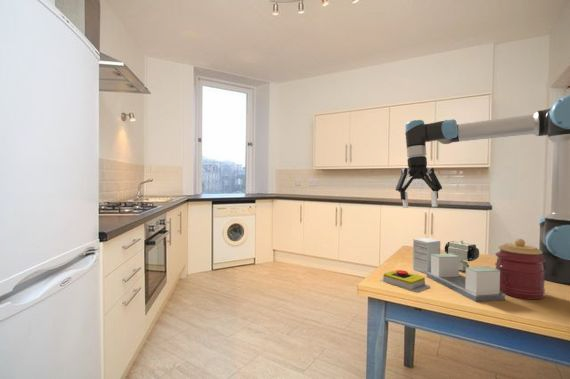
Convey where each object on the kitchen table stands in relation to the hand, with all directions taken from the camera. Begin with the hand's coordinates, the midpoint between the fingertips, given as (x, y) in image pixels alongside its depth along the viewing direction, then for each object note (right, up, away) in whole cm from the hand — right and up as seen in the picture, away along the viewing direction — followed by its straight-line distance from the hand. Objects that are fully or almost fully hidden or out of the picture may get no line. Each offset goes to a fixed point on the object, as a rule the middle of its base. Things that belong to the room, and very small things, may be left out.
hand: (420, 207), depth 127 cm
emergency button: (-15, -26, -20) cm, 36 cm away
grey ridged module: (0, -26, -5) cm, 26 cm away
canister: (+19, -26, -28) cm, 43 cm away
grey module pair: (+4, -24, -24) cm, 34 cm away
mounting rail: (+4, -26, -24) cm, 35 cm away
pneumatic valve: (+15, -26, -3) cm, 30 cm away
